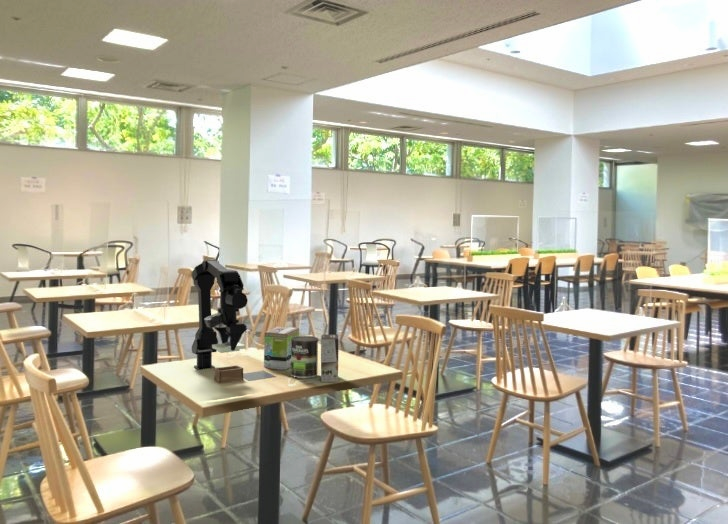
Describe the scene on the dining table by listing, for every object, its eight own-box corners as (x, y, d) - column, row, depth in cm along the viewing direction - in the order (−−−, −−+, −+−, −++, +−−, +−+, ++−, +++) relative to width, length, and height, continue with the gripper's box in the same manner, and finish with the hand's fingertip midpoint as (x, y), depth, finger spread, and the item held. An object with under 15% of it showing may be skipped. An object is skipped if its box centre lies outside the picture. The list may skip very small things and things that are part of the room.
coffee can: (310, 379, 220) (311, 342, 219) (286, 377, 223) (286, 339, 222) (322, 373, 229) (322, 337, 228) (298, 370, 233) (298, 335, 232)
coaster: (236, 376, 223) (236, 374, 223) (263, 372, 229) (263, 370, 229) (249, 383, 214) (249, 380, 214) (276, 378, 220) (276, 376, 220)
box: (213, 381, 215) (213, 368, 215) (237, 378, 220) (237, 365, 220) (219, 385, 210) (219, 371, 210) (243, 381, 216) (243, 368, 215)
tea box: (287, 370, 234) (287, 333, 233) (263, 368, 236) (263, 331, 235) (299, 361, 248) (299, 326, 247) (276, 360, 250) (276, 325, 249)
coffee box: (338, 382, 217) (338, 338, 216) (320, 382, 216) (321, 338, 215) (337, 375, 226) (337, 334, 225) (320, 376, 225) (321, 334, 224)
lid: (212, 350, 215) (212, 341, 215) (237, 347, 220) (237, 339, 220) (219, 354, 209) (219, 345, 208) (245, 351, 214) (245, 342, 214)
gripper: (197, 304, 216) (197, 346, 217) (216, 310, 201) (216, 355, 202) (226, 302, 223) (226, 343, 224) (247, 308, 208) (247, 352, 209)
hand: (228, 348), depth 214 cm, fingers closed on lid, 7 cm apart
